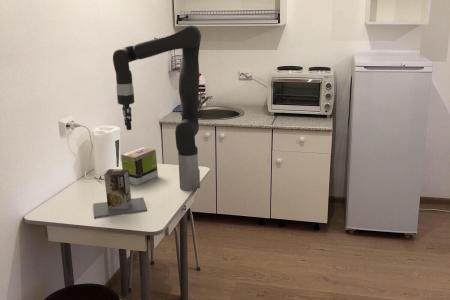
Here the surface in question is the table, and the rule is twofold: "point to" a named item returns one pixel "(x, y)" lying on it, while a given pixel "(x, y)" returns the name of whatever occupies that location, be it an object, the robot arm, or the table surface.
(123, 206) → the coffee box
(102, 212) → the mat
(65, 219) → the table surface
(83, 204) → the table surface
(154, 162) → the tea box
